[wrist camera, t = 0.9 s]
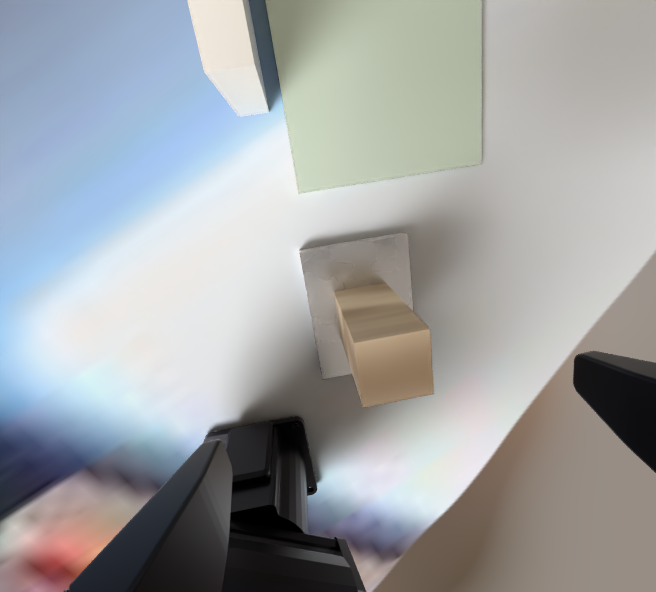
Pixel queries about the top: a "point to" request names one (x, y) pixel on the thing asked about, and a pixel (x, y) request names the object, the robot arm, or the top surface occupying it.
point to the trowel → (368, 318)
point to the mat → (378, 87)
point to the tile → (230, 52)
